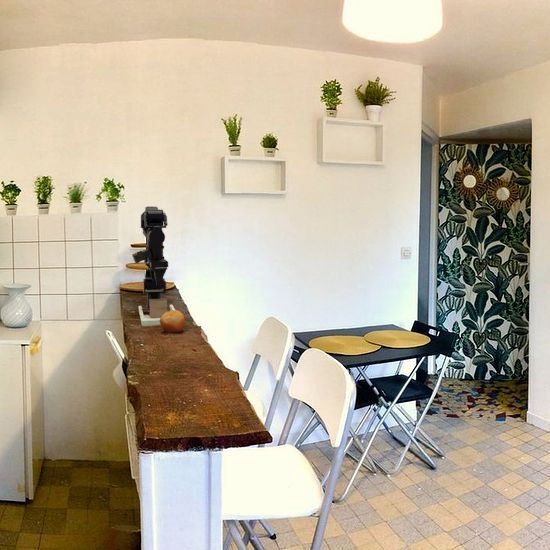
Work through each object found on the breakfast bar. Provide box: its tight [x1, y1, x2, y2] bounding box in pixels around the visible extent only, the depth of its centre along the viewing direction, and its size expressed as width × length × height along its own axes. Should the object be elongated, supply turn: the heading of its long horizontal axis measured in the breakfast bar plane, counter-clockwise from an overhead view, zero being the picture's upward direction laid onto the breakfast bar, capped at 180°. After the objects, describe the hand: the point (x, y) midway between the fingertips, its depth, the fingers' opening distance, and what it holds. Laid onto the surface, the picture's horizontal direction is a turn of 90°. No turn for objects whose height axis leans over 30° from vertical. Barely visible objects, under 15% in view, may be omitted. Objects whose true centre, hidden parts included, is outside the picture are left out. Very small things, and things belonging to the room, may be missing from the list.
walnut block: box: [148, 298, 168, 318], centre depth 188 cm, size 6×6×6 cm
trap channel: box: [138, 304, 176, 327], centre depth 189 cm, size 30×13×2 cm, turn 17°
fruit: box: [160, 309, 186, 334], centre depth 168 cm, size 8×8×8 cm
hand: (156, 283), depth 196 cm, fingers open, 9 cm apart
